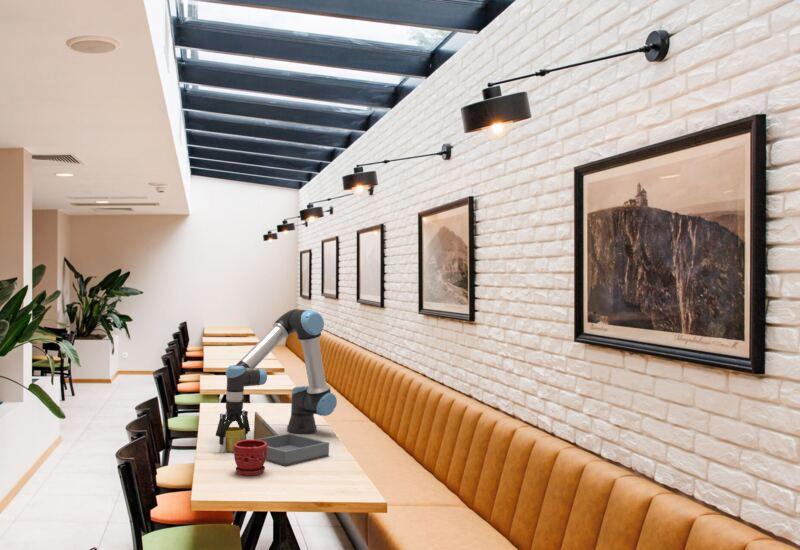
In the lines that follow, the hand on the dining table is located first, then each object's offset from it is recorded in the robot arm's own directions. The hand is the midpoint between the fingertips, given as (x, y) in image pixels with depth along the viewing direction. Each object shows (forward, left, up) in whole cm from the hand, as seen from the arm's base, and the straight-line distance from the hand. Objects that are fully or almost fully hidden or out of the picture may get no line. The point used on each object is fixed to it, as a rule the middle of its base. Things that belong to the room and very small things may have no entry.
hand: (232, 449), depth 323 cm
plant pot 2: (+18, +34, -1) cm, 38 cm away
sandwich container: (-21, +2, -1) cm, 21 cm away
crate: (-12, +23, 0) cm, 26 cm away
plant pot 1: (0, 0, 0) cm, 0 cm away
